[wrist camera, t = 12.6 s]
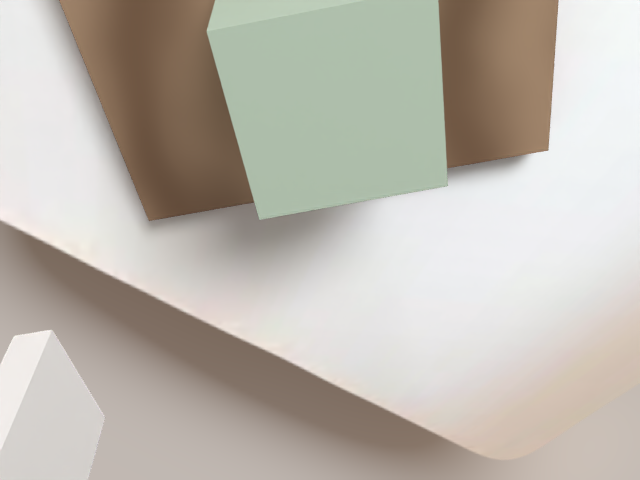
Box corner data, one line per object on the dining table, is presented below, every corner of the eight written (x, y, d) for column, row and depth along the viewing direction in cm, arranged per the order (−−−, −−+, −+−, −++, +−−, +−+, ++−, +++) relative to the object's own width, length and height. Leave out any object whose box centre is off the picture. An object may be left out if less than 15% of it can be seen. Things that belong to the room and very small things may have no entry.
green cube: (397, -59, 23) (437, -14, 18) (411, 107, 28) (447, 186, 22) (221, -24, 24) (206, 31, 18) (261, 135, 28) (259, 219, 22)
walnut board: (555, -201, 22) (571, -201, 21) (537, 136, 31) (548, 150, 29) (35, -96, 23) (22, -90, 22) (153, 204, 32) (149, 220, 30)
